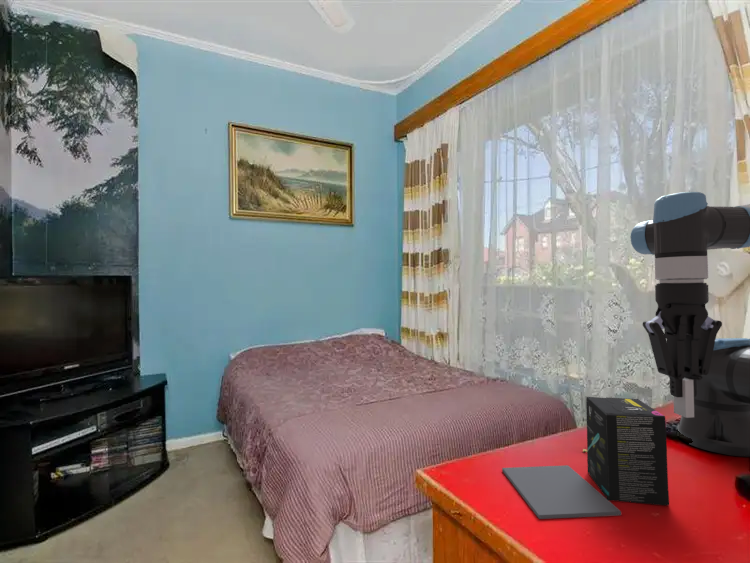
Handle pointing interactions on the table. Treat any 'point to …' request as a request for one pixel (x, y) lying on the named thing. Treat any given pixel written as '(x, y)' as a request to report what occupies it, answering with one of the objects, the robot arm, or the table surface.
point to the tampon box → (627, 450)
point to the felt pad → (559, 492)
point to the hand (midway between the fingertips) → (683, 414)
